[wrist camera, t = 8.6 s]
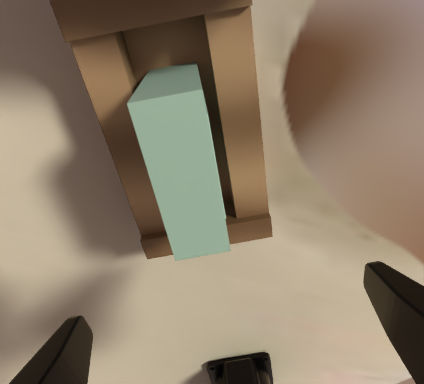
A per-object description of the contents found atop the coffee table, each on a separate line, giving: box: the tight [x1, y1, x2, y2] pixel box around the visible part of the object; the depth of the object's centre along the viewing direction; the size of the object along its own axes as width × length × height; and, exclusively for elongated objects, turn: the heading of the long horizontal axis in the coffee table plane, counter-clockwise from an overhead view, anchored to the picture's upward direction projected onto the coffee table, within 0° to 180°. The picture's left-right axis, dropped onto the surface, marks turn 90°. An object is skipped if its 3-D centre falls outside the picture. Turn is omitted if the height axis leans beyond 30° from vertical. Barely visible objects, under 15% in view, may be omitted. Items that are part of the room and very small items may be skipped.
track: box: [50, 0, 272, 259], centre depth 17 cm, size 14×8×4 cm, turn 10°
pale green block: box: [127, 61, 231, 261], centre depth 15 cm, size 7×3×7 cm, turn 10°
